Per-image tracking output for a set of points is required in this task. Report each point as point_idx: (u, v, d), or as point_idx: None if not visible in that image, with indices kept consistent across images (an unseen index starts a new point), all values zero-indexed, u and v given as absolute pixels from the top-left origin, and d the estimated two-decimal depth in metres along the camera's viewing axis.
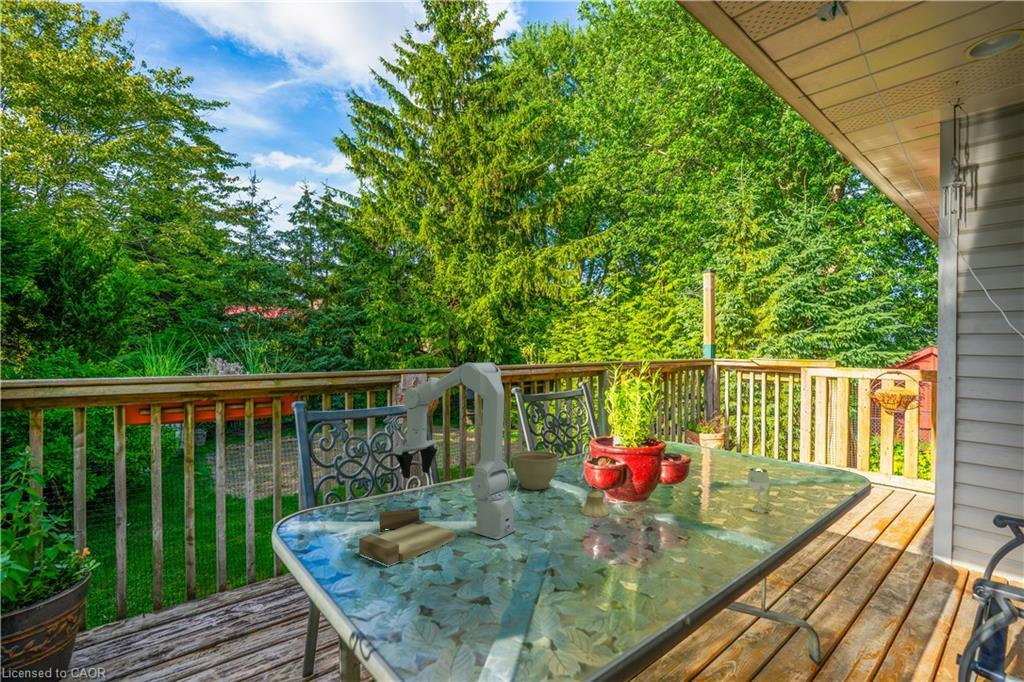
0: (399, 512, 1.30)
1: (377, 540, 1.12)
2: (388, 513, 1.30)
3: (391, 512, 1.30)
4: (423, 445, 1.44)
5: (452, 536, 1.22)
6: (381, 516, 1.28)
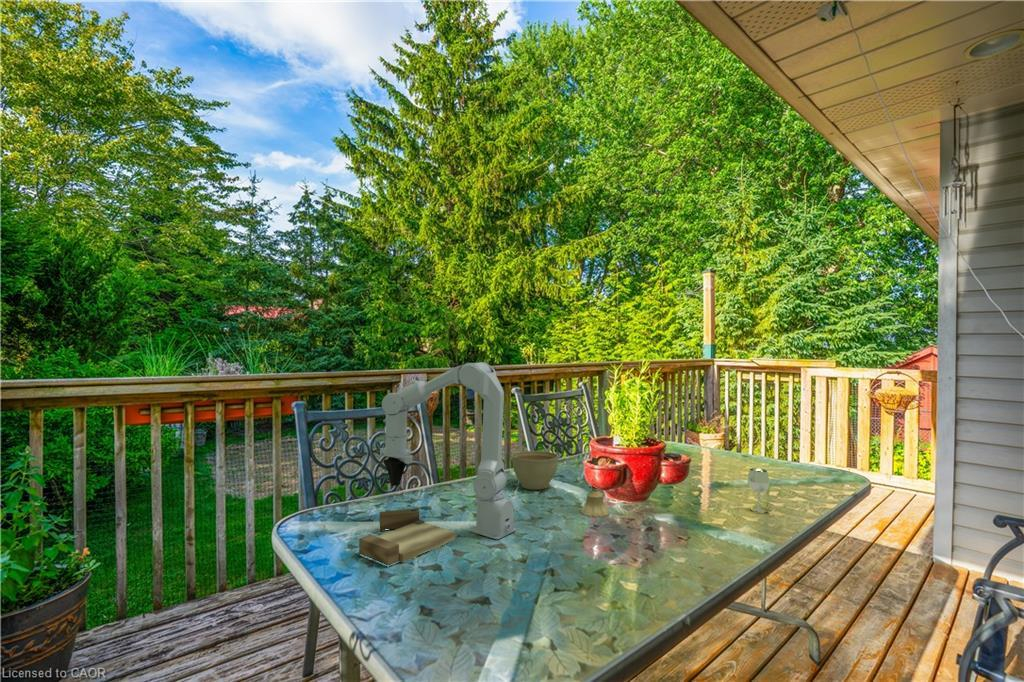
0: (399, 512, 1.30)
1: (377, 540, 1.12)
2: (388, 513, 1.30)
3: (391, 512, 1.30)
4: (386, 453, 1.35)
5: (452, 536, 1.22)
6: (381, 516, 1.28)
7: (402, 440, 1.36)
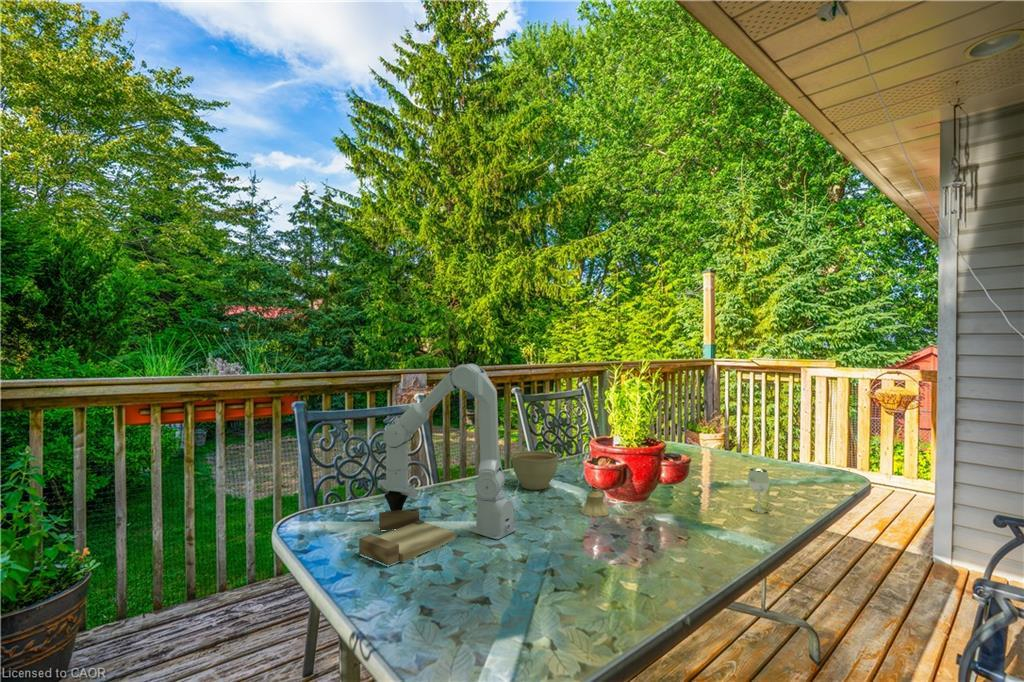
0: (399, 512, 1.30)
1: (377, 540, 1.12)
2: (388, 513, 1.29)
3: (391, 512, 1.30)
4: (387, 487, 1.31)
5: (452, 536, 1.22)
6: (381, 517, 1.27)
7: (404, 473, 1.32)
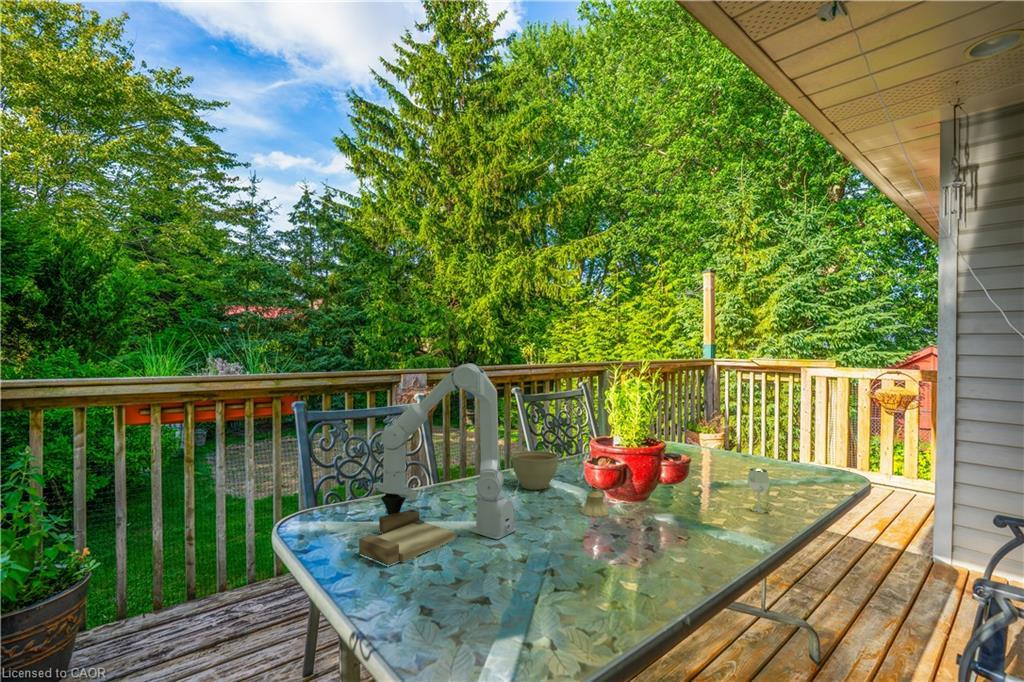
0: (399, 514, 1.28)
1: (377, 540, 1.12)
2: (390, 516, 1.27)
3: (392, 515, 1.27)
4: (385, 490, 1.28)
5: (452, 536, 1.22)
6: (385, 520, 1.25)
7: (403, 475, 1.30)
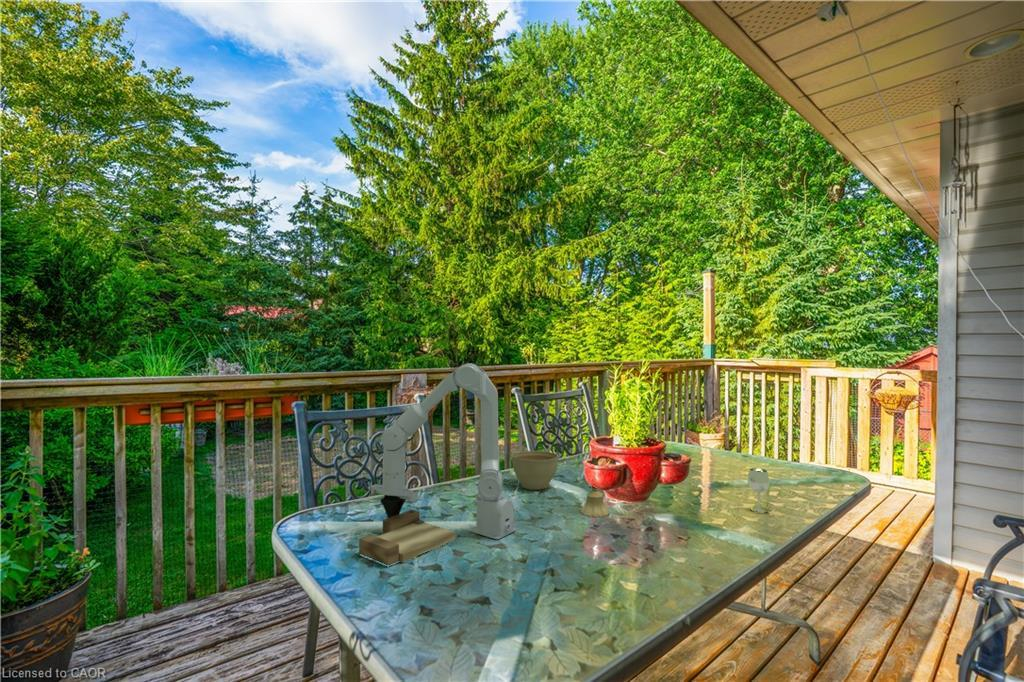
0: (401, 516, 1.27)
1: (377, 540, 1.12)
2: (394, 518, 1.25)
3: (395, 517, 1.26)
4: (385, 492, 1.26)
5: (452, 536, 1.22)
6: (391, 523, 1.23)
7: (403, 476, 1.28)
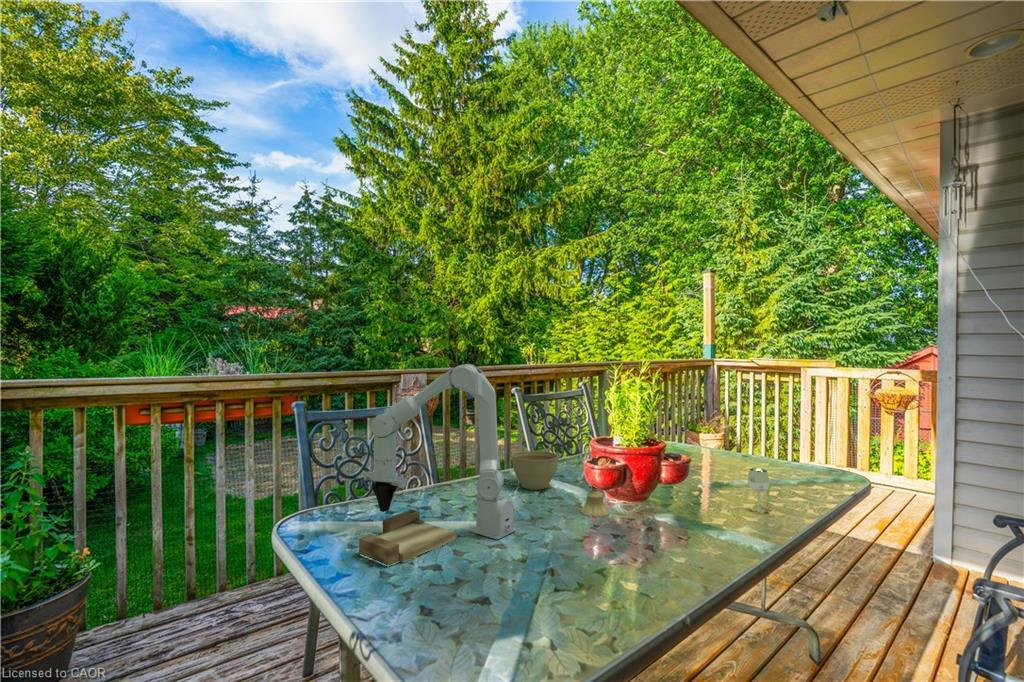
0: (401, 516, 1.27)
1: (377, 540, 1.12)
2: (394, 518, 1.25)
3: (395, 517, 1.26)
4: (375, 478, 1.29)
5: (452, 536, 1.22)
6: (391, 523, 1.23)
7: (393, 463, 1.30)
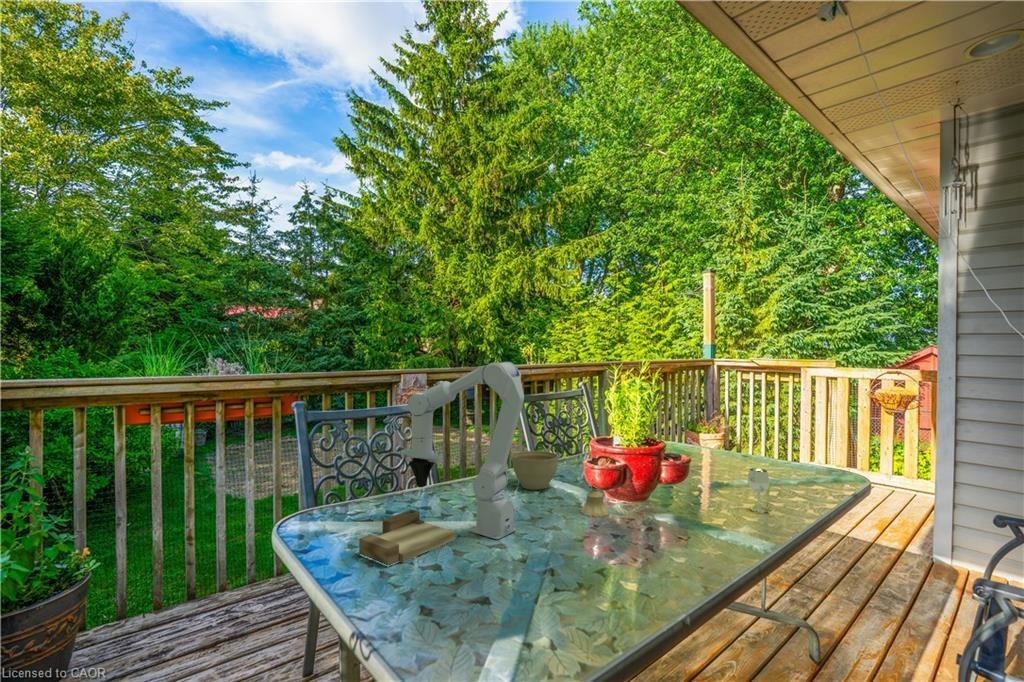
0: (401, 516, 1.27)
1: (377, 540, 1.12)
2: (394, 518, 1.25)
3: (395, 517, 1.26)
4: (413, 455, 1.34)
5: (452, 536, 1.22)
6: (391, 523, 1.23)
7: (430, 441, 1.35)
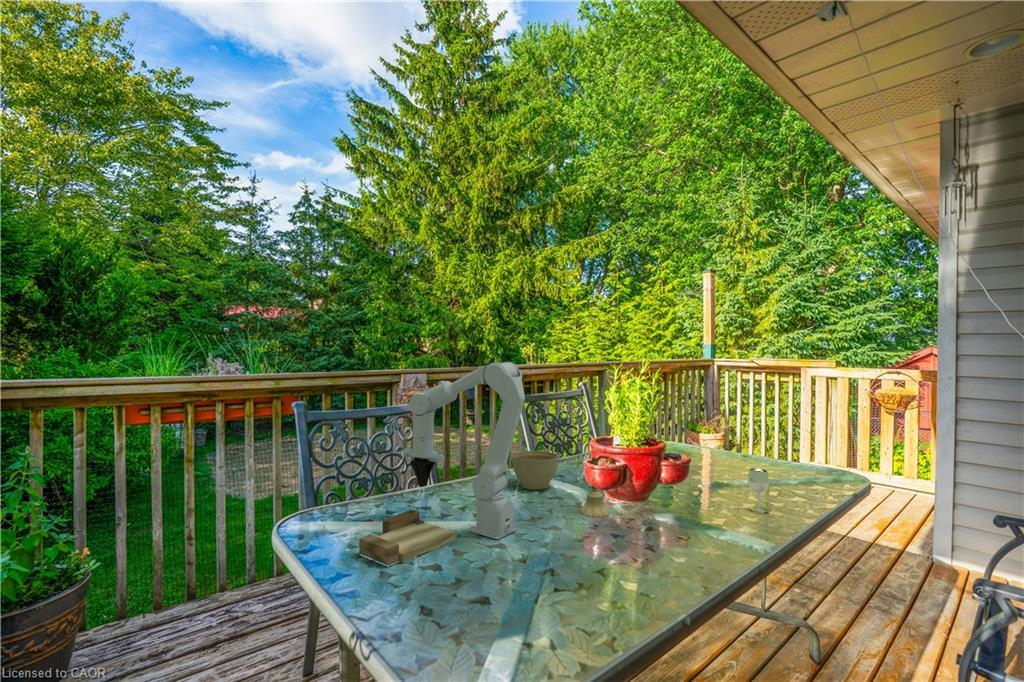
0: (401, 516, 1.27)
1: (377, 540, 1.12)
2: (394, 518, 1.25)
3: (395, 517, 1.26)
4: (415, 454, 1.35)
5: (452, 536, 1.22)
6: (391, 523, 1.23)
7: (431, 440, 1.36)
